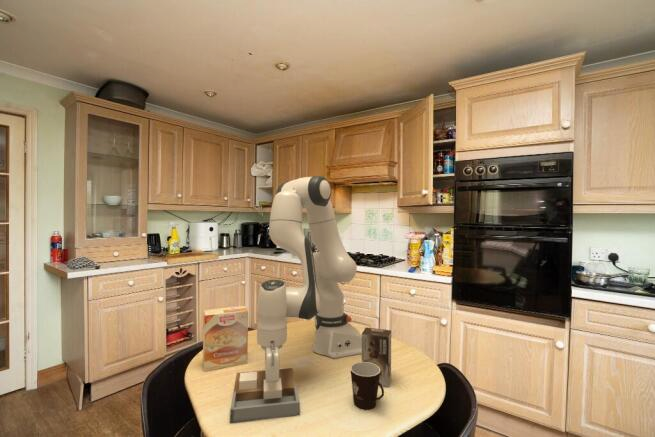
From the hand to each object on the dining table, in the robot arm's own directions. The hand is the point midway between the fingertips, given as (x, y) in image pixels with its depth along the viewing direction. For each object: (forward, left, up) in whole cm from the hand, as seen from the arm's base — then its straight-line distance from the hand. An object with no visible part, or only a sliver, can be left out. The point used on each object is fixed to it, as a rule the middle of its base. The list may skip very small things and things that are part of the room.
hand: (271, 381), depth 95 cm
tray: (+2, +7, -4) cm, 8 cm away
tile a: (0, +4, 0) cm, 4 cm away
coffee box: (-34, -2, -4) cm, 35 cm away
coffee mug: (-26, +11, -4) cm, 29 cm away
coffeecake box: (+16, -23, -4) cm, 28 cm away
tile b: (+7, -1, 0) cm, 7 cm away
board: (+2, -3, -4) cm, 5 cm away
